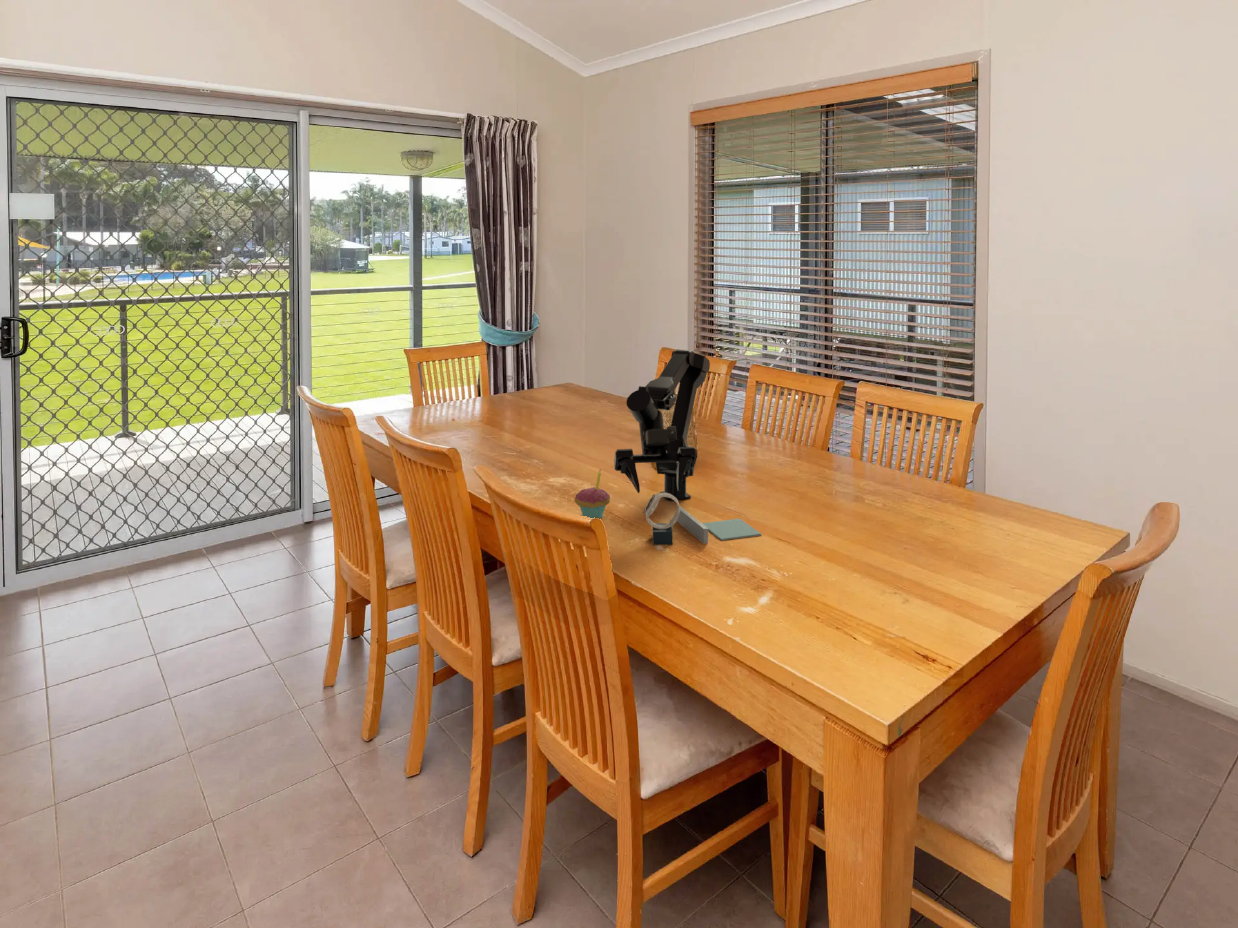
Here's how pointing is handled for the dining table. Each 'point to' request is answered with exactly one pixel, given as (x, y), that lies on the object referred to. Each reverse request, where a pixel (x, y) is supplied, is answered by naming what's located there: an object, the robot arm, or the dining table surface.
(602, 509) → the cupcake
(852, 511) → the dining table surface
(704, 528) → the acrylic wall
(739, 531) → the mat
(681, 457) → the robot arm
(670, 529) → the watch
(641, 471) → the dining table surface
